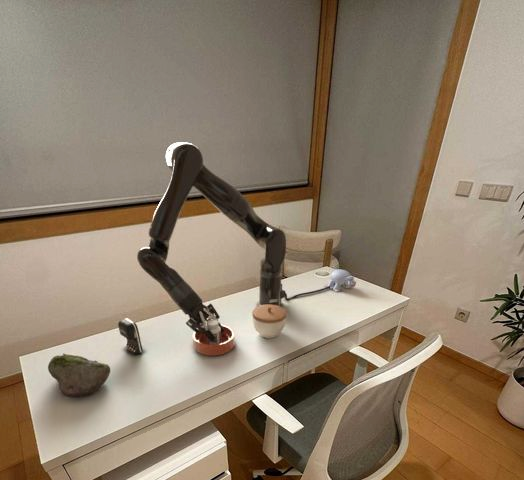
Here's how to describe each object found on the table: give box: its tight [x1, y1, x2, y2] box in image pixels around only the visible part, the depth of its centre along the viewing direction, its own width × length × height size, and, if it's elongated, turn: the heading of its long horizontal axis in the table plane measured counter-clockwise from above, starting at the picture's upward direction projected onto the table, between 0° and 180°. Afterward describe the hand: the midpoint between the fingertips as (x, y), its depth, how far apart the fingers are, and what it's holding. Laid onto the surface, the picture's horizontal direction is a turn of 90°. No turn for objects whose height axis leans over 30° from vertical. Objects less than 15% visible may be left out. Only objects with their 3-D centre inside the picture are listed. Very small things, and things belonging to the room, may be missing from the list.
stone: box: [47, 353, 111, 398], centre depth 94 cm, size 19×14×10 cm
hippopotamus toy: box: [326, 265, 357, 292], centre depth 157 cm, size 11×15×10 cm
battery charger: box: [117, 317, 144, 355], centre depth 107 cm, size 7×4×11 cm, turn 49°
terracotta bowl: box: [192, 324, 236, 356], centre depth 113 cm, size 14×14×4 cm
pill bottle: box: [206, 319, 222, 345], centre depth 112 cm, size 5×5×9 cm
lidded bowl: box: [251, 304, 288, 339], centre depth 119 cm, size 13×13×11 cm
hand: (218, 335), depth 111 cm, fingers closed on pill bottle, 5 cm apart
